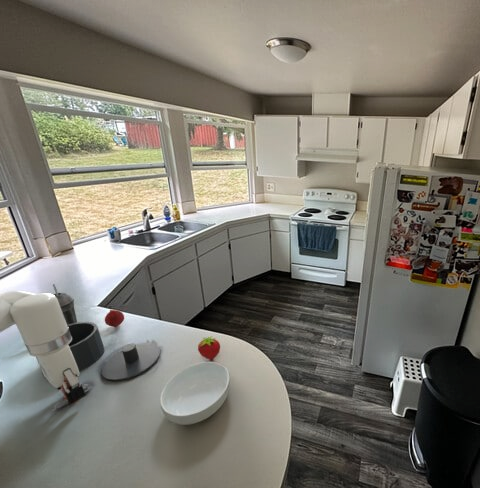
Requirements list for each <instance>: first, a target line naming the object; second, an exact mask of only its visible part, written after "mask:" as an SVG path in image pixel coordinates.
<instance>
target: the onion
mask: <svg viewBox="0 0 480 488" xmlns="http://www.w3.org/2000/svg"><path fill="white" fill-rule="evenodd" d="M124 321H125V315H124V313H123V312H122V311H120V310H116V309H112V308H111V309H109V312H108V313H106V315H105V317H104V323H105V325H107V326H108V327H112V328H117V327H119V326H120V325H122V324H123V322H124Z"/></svg>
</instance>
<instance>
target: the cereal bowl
mask: <svg viewBox="0 0 480 488" xmlns="http://www.w3.org/2000/svg"><path fill="white" fill-rule="evenodd" d="M230 386H231V377H230V372H229V370H228V368H227V367H226V366H224V364H222V363H219V362H215V361H203V362H197V363H194V364H191V365H188V366H186V367H185V368H183V369H181V370H180V371H178V372H177V373H175V375H173V376H172V377H171V378H170V379H168V381H167V383H166V384H165V386H164V387H163V389H162V391H161V394H160V398H159V399H160V400H159V402H160V403H159V404H160V408H161V411H162V413H163V415H164V416H165V417H166V418H167V420H168V421H170V422H172V423H173V424H176V425H183V426H187V425H194V424H197V423H200V422H203V421H205V420H206V419H208V418H210V417H211V416H212V415H213V414H215V413H216V412H217V411H218V410H219V409H220V408H221V407H222V405H224V402H225V401H226V399H227V397H228V395H229V392H230Z"/></svg>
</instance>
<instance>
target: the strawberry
mask: <svg viewBox="0 0 480 488" xmlns="http://www.w3.org/2000/svg"><path fill="white" fill-rule="evenodd" d="M220 350H221V344H220V341H219V340H217V338H215V337H214V338H213V336H212V335H211V336H210V337H209V336H208V337H206V336H205V337H202V340H200V342H198V345H197V351H198V353H199V354H200V356H202V357H203V358H205V359H207V360H209V361H213V360H214V359H215V358H216V357H217V356H218V354H219V353H220V352H221V351H220Z"/></svg>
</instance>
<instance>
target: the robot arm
mask: <svg viewBox="0 0 480 488" xmlns="http://www.w3.org/2000/svg"><path fill="white" fill-rule="evenodd" d="M14 325H15V326H16V327H17V330H18V333H19V334H20V336H21V339H22V341H23V343H24V345H25V348H26V349H27V351H28V353H29V355H30V356H31V357H35V358H36V357H37V359H38V361H37V363H38V362H39V363H38V365H39V364H40V365H39V367H40V369H42V370H41V373H42V375H43V376H44V378H45V379H46V380H47V381H48V382H49V383H50V385H51V386H52V387H53V388H55V389H56V390H58V391H59V390H62V389H61V387H60V386H62V385H63V387H64V389H65V391H66V392H65V395H66V397H67V399H68V402H69V403H70V404H69V405H72V403H73V404H75V403H77V402H78V401H80V400H81V399H82V398H84V397H85V396H86V393H85V392H84V390H83V387H82V385H83V384H82V383H81V382H80V381H79V378H78V377H79V376H80V375H81V374H80V371H79V370H78V367H77V364H76V362H75V359H74V357H73V354H72V352H71V350H70V347H69V345H68V344H69V343H70V342H71V341H72V336H71V334H70V331H69V329H68V326H67V323H66V321H65V318H64V315H63V313H62V310H61V308H60V305H59V302H58V300H57V298H56V297H55V296H54V294H52V293H46V292H45V293H43V292H42V293H32V292H27V291H23V290H10V291H7V292H4V293H1V294H0V333H2V332H4V331H6V330H8V329H9V328H11V327H12V326H14ZM37 359H36V360H37ZM65 378H66V379H67V380H66V381H64V379H65ZM68 382H69V384H70V386H69V387H67V385H66V383H68ZM77 400H78V401H77ZM76 401H77V402H76ZM74 402H75V403H74Z"/></svg>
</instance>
